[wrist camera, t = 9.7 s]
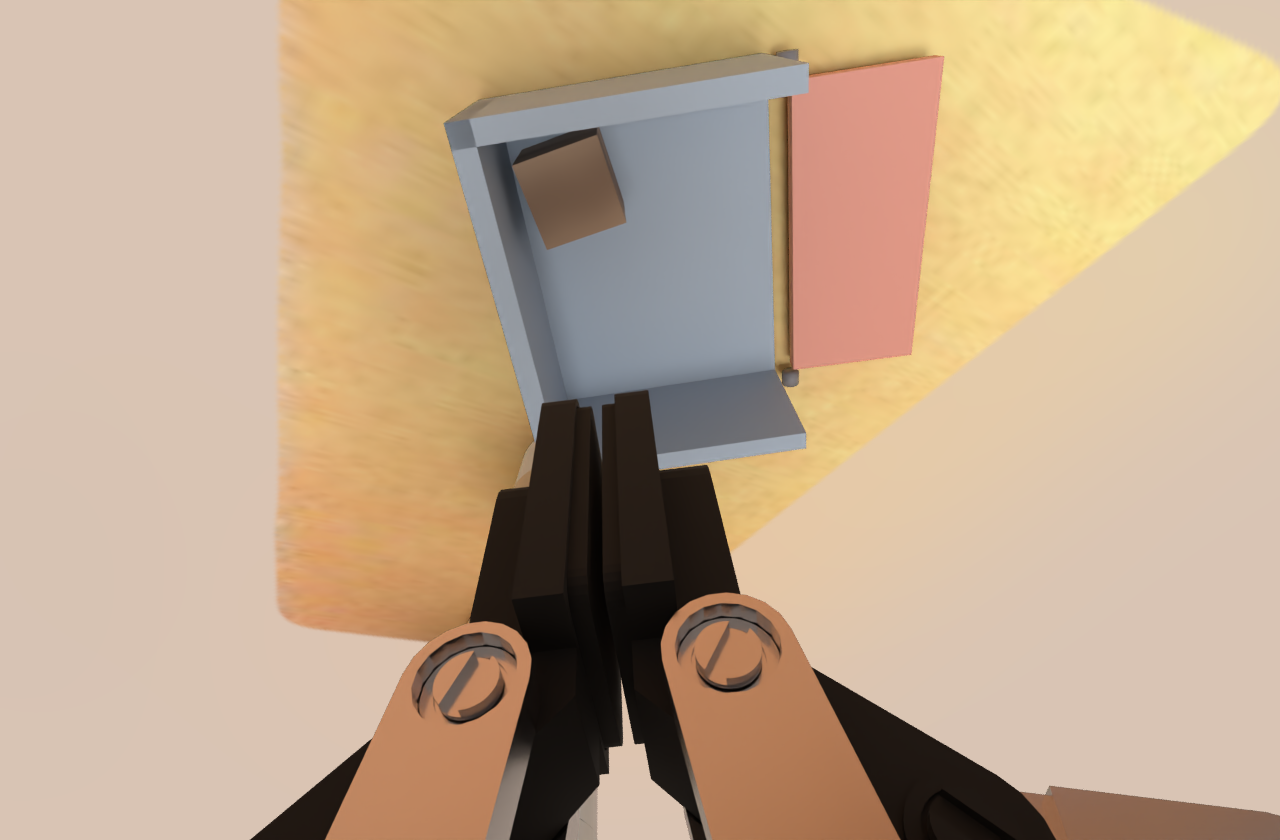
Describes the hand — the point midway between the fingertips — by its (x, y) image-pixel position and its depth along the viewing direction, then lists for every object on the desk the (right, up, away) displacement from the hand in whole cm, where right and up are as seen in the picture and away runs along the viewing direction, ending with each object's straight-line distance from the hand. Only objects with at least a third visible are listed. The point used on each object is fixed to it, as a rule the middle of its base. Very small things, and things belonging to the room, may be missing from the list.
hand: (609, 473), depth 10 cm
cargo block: (-3, +14, +22) cm, 27 cm away
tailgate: (+9, +11, +24) cm, 27 cm away
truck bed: (+1, +10, +25) cm, 27 cm away
